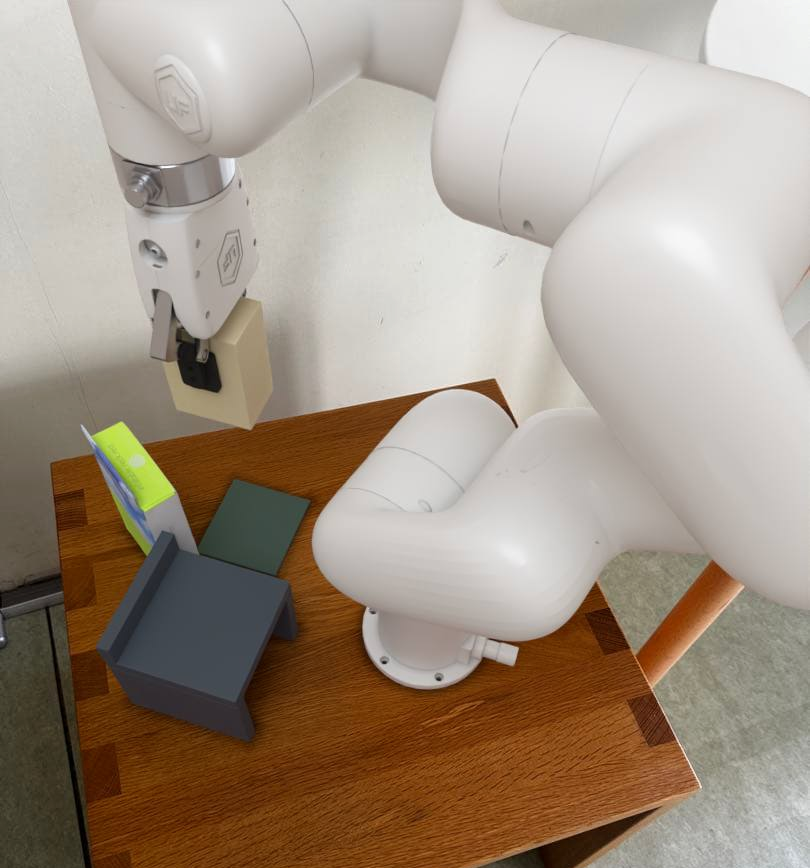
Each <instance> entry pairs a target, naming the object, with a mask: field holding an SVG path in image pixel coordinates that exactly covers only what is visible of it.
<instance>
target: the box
mask: <svg viewBox="0 0 810 868" xmlns="http://www.w3.org/2000/svg"><path fill="white" fill-rule="evenodd" d="M79 428H80V429H81V431H82V433H83V435H84V437H85V438H86V439H87V442H88V444H89V445H90V448H91V450H92V452H93V455H94V457H95V459H96V461H97V463H98V466H99V468H100V470H101V473H102V475H103V478H104V480H105V482H106V484H107V487H108V489H109V491H110V493H111V496H112V499H113V501H114V504H115V505H116V508H117V510H118V512H119V514H120V517H121V519H122V521H123V524H124V526H125V528H126V530H127V531H128V533H130V535H131V536H132V538H133V539H134V540H135V541H136V543H137V545H139V547H140V549H141V550H142V552H143V553H144V554H145V556H146V557H147V556H148V554H149V552H150V551H151V549H152V547H153V545H154V544H155V542H156V540H157V538H158V537H159V535H160V533H161V531H162V530H163V531H166V532H169V533H173V534H174V535H175V538H176V540H177V543H178V546H179V549H181V550H185V551H188V552H191V553H195V554H198V555H200V554H199V552H198V549H197V547H198V546H197V544H196V541H195V538H194V535H193V533H192V530H191V527H190V524H189V522H188V521H189V520H188V519H187V516H186V513H185V511H184V508H183V505H182V503H181V500H180V496H179V493H178V491H177V490H176V488H175V487H174V486H173V484H172V483H171V481H170V480H169V479H168V478H167V477H166V475H165V473H164V472H163V471H162V470H161V468H160V467H159V466H158V464H157V463H156V461H154V459H153V458H152V457H151V455H150V454H149V452H148V451H147V450H146V448H145V447H144V446H143V445H142V443H141V442H140V441H139V439H138V438H137V437H136V436H135V434H134V433H133V432H132V430H131V429H130V428H129V427H128V426H127V425H126V423H124V422H123V421H122V420H121V421H119V422H117V423H115V424H113V425H111V426H109V427H108V428H105V429H103V430H101V431H99V432H96V433H95V434H93V435H91V434H90V433H89V432H88V431H87V429H86V428H85V426H84V425H83V424H79Z"/></svg>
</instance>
